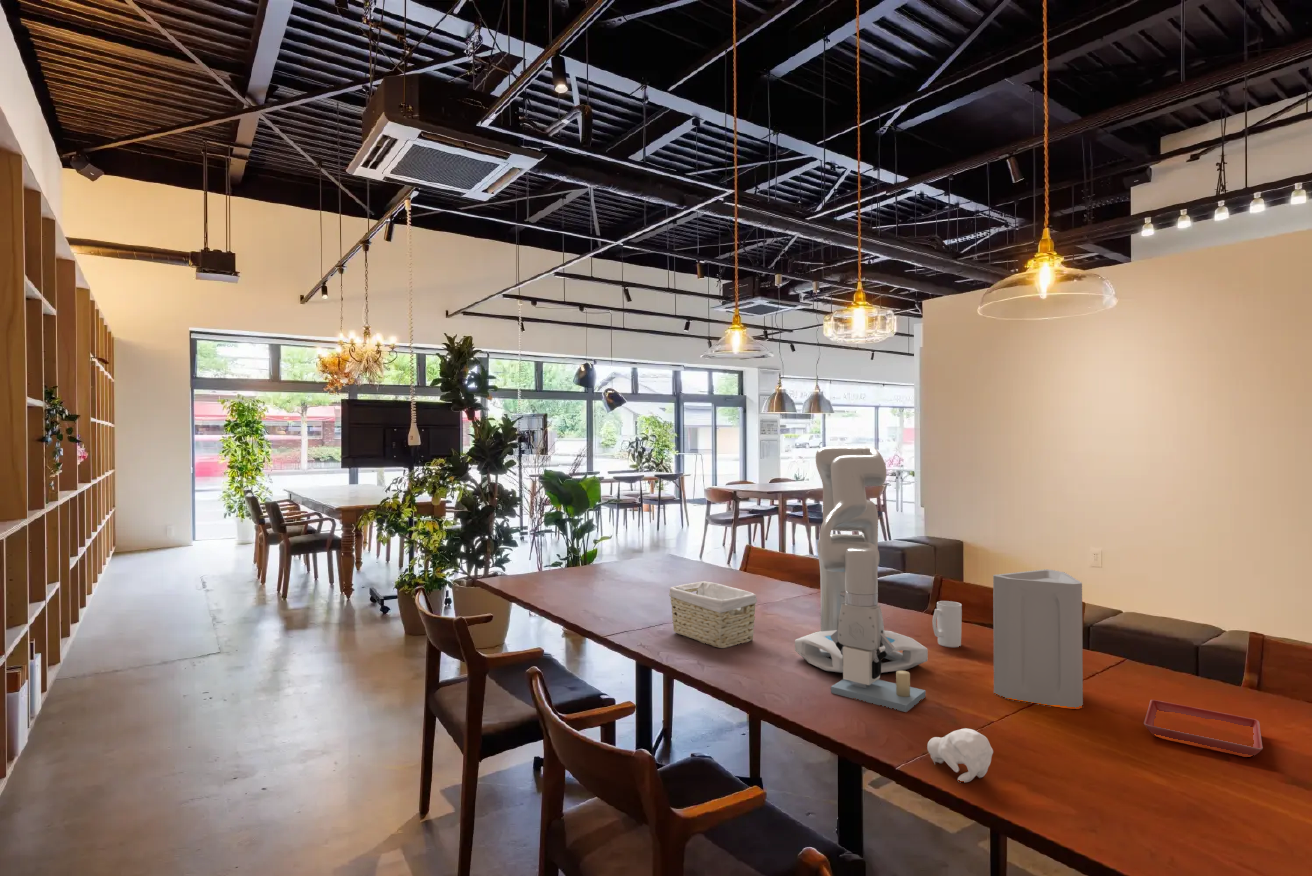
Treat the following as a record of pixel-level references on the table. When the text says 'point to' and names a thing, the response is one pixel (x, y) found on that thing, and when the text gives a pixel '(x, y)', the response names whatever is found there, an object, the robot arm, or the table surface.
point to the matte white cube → (858, 665)
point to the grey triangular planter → (1038, 637)
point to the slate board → (884, 692)
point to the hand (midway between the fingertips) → (861, 673)
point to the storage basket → (713, 613)
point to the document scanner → (818, 657)
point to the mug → (948, 623)
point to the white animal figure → (962, 752)
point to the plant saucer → (1205, 714)
